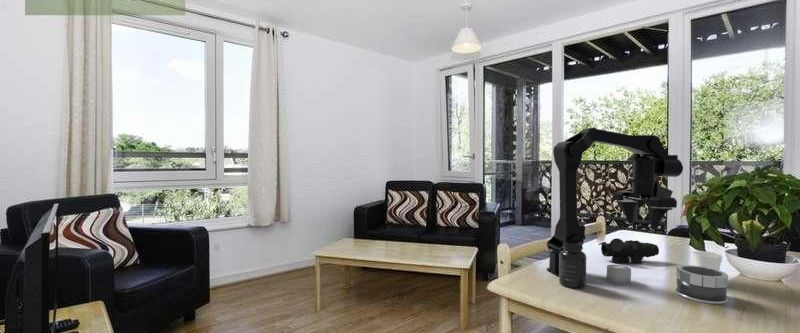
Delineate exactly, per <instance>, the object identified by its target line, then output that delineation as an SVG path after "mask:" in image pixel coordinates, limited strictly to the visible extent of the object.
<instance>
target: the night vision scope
mask: <svg viewBox="0 0 800 333" xmlns="http://www.w3.org/2000/svg"><path fill="white" fill-rule="evenodd" d="M600 245H601V247H600V249H601V250H600V251H601V254H602V255H603V256H604V257H607V258H608V257H611V262H612V263H613V264H642V263H643V262H642V260H643V261H644V258H651V257H655V256H658V255H659V254H660V249H659V246H658V245H657V244H654V243H649V242H642V241H641V242H640V241H639V240H632V239H630V240H625V241H624V240H622V239H621V238H619V237H618V238H613V239H611V241H610V242H609V243H607V241H602V242H600V243H598V246H600Z"/></svg>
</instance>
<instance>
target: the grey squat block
mask: <svg viewBox="0 0 800 333" xmlns="http://www.w3.org/2000/svg"><path fill="white" fill-rule="evenodd" d="M606 281H607V282H609V283H610V284H615V285H620V286H630V285H631V284H632V283H631V282H632V268H630V267H629V266H626V265H620V264H608V265H606Z"/></svg>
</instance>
